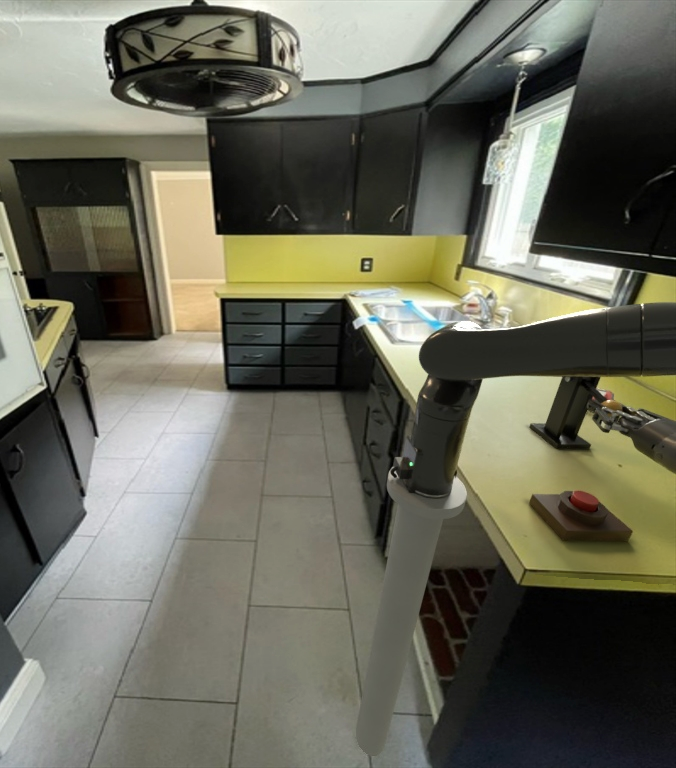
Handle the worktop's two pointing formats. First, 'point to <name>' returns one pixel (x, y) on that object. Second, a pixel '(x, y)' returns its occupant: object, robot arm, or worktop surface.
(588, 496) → the release button
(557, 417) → the bracket
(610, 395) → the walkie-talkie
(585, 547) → the worktop surface
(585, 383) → the latch lever
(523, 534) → the worktop surface
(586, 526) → the button base
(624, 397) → the worktop surface
